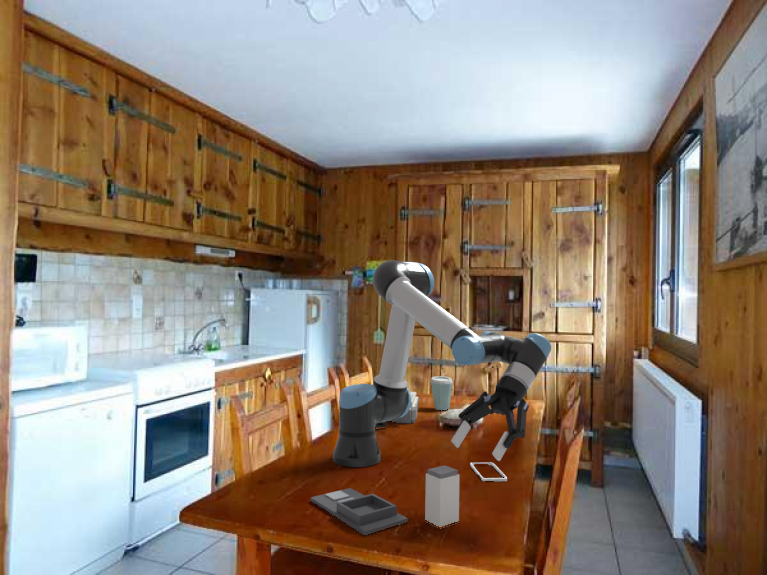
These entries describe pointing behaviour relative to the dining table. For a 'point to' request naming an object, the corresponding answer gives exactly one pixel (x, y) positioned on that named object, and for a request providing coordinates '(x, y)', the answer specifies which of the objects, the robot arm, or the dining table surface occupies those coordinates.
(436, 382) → the disposable coffee cup
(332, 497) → the grey socket base plate
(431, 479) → the plug
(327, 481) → the dining table surface
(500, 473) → the silver rectangular frame
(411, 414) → the electrical outlet
